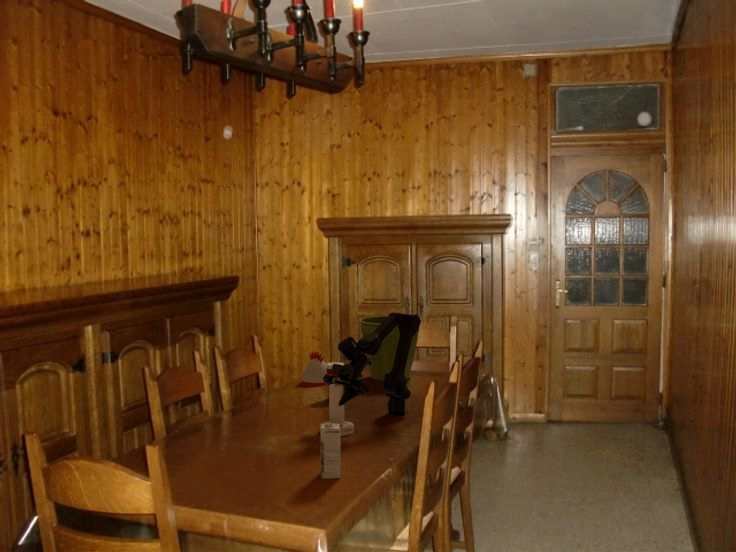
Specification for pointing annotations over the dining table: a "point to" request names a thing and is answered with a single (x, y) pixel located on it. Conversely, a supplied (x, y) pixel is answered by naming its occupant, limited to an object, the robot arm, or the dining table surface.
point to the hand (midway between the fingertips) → (333, 404)
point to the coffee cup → (329, 368)
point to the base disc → (344, 428)
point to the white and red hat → (314, 371)
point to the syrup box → (330, 451)
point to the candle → (336, 403)
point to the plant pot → (386, 349)
